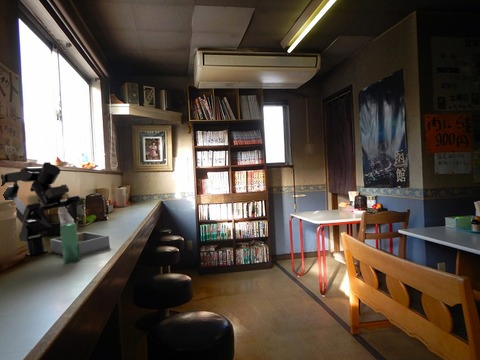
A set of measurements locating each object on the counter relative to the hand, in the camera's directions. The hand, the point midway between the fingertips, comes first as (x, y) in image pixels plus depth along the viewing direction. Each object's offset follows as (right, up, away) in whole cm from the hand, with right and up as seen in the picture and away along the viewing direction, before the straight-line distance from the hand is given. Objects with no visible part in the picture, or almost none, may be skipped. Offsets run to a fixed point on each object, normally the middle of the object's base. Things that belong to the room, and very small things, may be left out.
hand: (64, 223), depth 109 cm
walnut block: (-4, -11, +14) cm, 18 cm away
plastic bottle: (-15, -13, +29) cm, 35 cm away
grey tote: (+1, -12, +10) cm, 16 cm away
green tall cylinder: (+7, -12, -6) cm, 15 cm away
